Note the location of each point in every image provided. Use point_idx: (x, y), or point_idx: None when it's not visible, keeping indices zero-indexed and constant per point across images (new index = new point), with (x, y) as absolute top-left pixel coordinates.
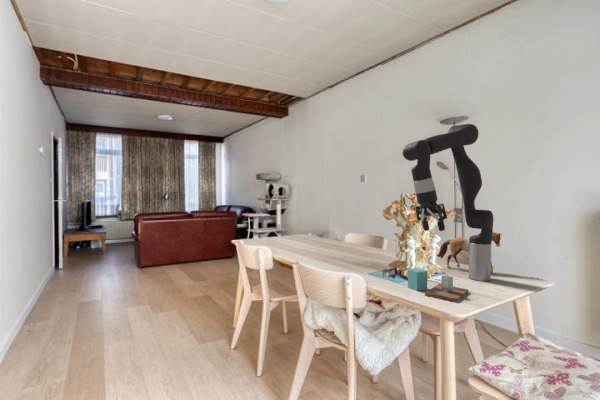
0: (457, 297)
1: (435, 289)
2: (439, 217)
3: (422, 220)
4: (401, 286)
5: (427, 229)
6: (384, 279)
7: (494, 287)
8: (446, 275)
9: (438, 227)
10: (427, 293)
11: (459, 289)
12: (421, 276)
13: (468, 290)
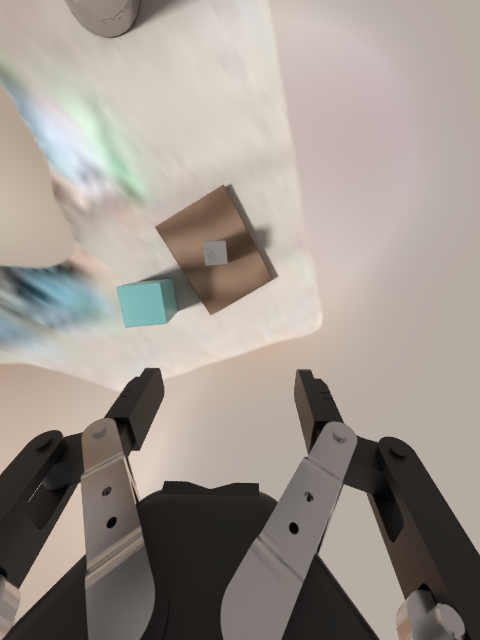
0: (263, 266)
1: (197, 274)
2: (312, 457)
3: (129, 468)
4: None
5: (159, 381)
6: (63, 333)
7: (207, 51)
8: (203, 245)
9: (299, 415)
10: (215, 312)
11: (215, 210)
12: (167, 304)
13: (223, 185)
